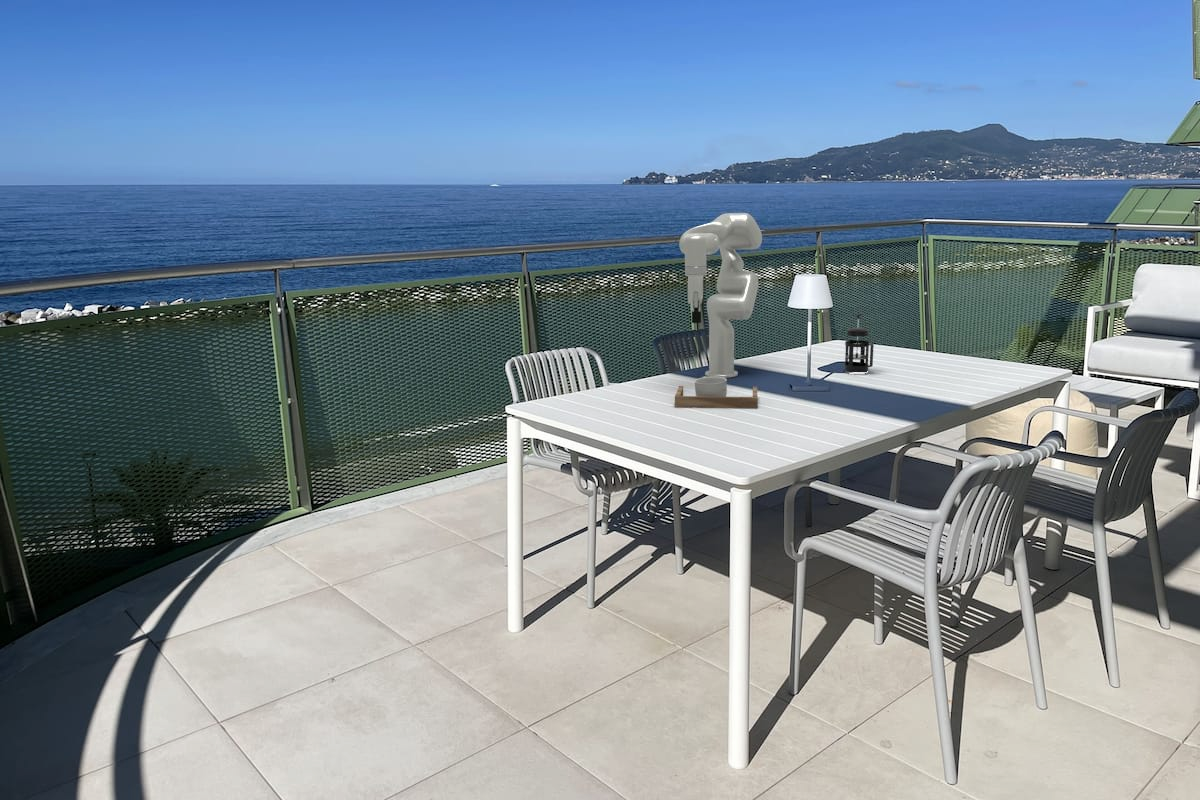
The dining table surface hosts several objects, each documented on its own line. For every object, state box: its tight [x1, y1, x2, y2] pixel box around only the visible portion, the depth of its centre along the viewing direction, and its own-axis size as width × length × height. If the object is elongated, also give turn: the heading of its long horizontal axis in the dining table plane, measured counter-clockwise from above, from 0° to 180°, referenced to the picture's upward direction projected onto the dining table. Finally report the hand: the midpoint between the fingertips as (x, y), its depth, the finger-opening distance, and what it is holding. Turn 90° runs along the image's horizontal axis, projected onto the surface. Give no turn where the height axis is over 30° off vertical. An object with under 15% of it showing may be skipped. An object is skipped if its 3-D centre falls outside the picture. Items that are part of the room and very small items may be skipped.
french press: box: [843, 312, 874, 372], centre depth 331 cm, size 12×9×23 cm
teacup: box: [694, 375, 728, 397], centre depth 292 cm, size 14×11×8 cm
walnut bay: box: [674, 385, 759, 409], centre depth 292 cm, size 18×27×4 cm, turn 80°
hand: (696, 322), depth 307 cm, fingers closed
